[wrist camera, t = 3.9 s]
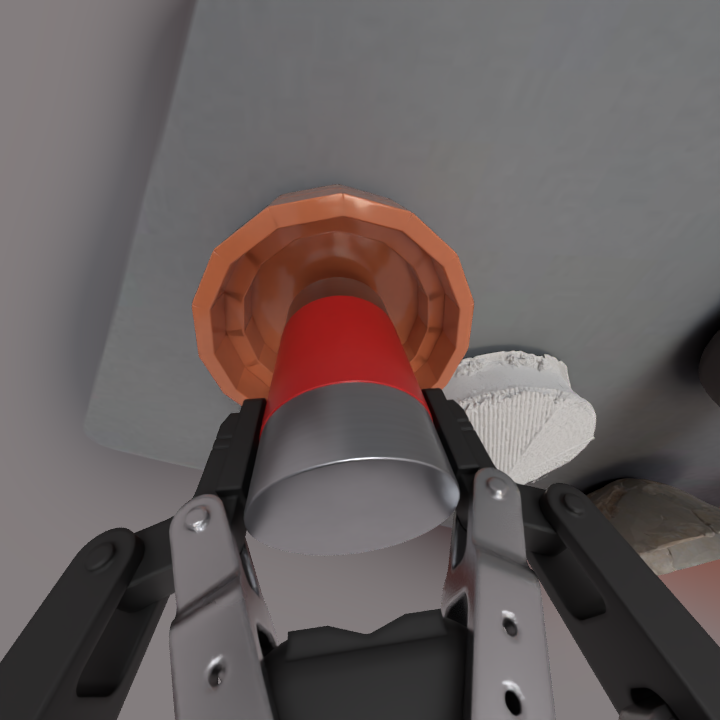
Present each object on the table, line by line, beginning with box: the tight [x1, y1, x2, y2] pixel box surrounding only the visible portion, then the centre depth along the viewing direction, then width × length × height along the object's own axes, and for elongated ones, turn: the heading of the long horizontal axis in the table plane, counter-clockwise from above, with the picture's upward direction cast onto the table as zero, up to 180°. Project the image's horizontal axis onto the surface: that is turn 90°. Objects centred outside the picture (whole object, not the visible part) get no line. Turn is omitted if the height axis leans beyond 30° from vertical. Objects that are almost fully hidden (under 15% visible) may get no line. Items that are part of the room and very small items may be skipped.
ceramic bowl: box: [586, 478, 720, 576], centre depth 40 cm, size 22×23×10 cm
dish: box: [192, 184, 474, 406], centre depth 16 cm, size 15×15×5 cm
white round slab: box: [442, 351, 597, 486], centre depth 25 cm, size 20×20×7 cm
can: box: [243, 277, 460, 555], centre depth 12 cm, size 6×6×11 cm
